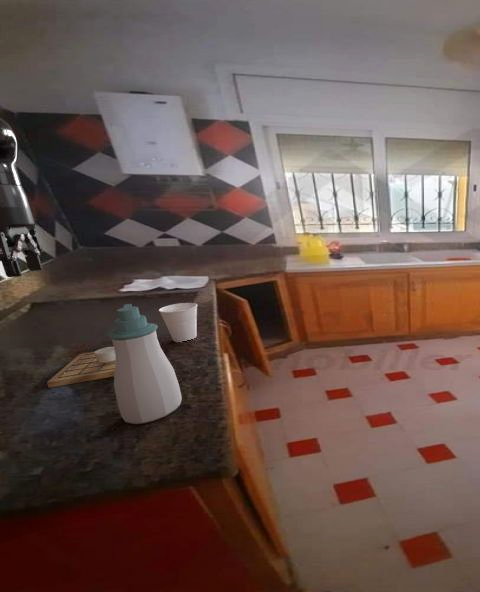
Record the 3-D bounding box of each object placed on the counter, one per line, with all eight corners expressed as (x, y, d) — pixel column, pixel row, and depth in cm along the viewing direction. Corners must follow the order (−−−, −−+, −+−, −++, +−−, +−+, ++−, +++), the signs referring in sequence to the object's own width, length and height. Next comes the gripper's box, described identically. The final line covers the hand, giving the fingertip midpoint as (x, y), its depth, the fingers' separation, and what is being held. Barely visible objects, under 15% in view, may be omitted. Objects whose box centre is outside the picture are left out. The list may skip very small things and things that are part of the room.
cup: (171, 335, 105) (164, 304, 102) (206, 331, 109) (200, 301, 106) (161, 347, 97) (153, 313, 94) (199, 342, 100) (193, 309, 97)
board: (48, 388, 75) (46, 381, 74) (81, 358, 89) (79, 353, 89) (140, 371, 82) (139, 366, 82) (157, 347, 97) (156, 342, 96)
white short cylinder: (93, 364, 83) (91, 355, 82) (101, 357, 86) (98, 348, 86) (117, 361, 85) (114, 351, 84) (123, 354, 89) (120, 345, 88)
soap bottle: (179, 392, 73) (158, 298, 67) (185, 412, 66) (162, 309, 60) (122, 409, 67) (93, 308, 61) (122, 433, 60) (89, 321, 54)
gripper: (1, 205, 78) (21, 269, 82) (-46, 204, 66) (-19, 280, 70) (44, 205, 81) (62, 267, 85) (7, 205, 69) (30, 277, 73)
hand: (25, 273), depth 78 cm, fingers open, 8 cm apart
